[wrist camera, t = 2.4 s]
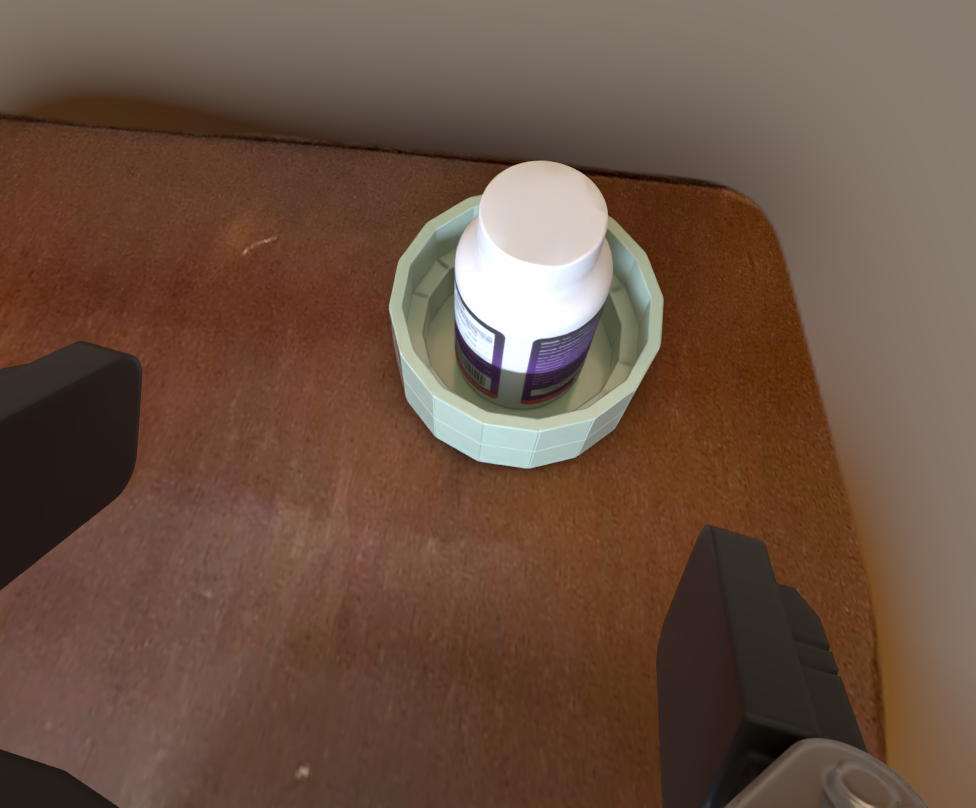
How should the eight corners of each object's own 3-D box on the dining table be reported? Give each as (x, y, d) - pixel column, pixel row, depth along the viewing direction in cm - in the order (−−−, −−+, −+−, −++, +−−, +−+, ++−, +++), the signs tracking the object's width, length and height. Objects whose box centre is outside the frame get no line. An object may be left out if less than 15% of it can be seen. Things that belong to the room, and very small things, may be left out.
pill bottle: (589, 305, 34) (639, 154, 25) (575, 421, 32) (624, 302, 23) (464, 286, 35) (470, 129, 26) (443, 400, 33) (441, 273, 24)
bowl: (643, 270, 36) (669, 209, 31) (628, 486, 32) (655, 448, 28) (420, 238, 36) (416, 173, 32) (377, 449, 32) (367, 407, 28)
